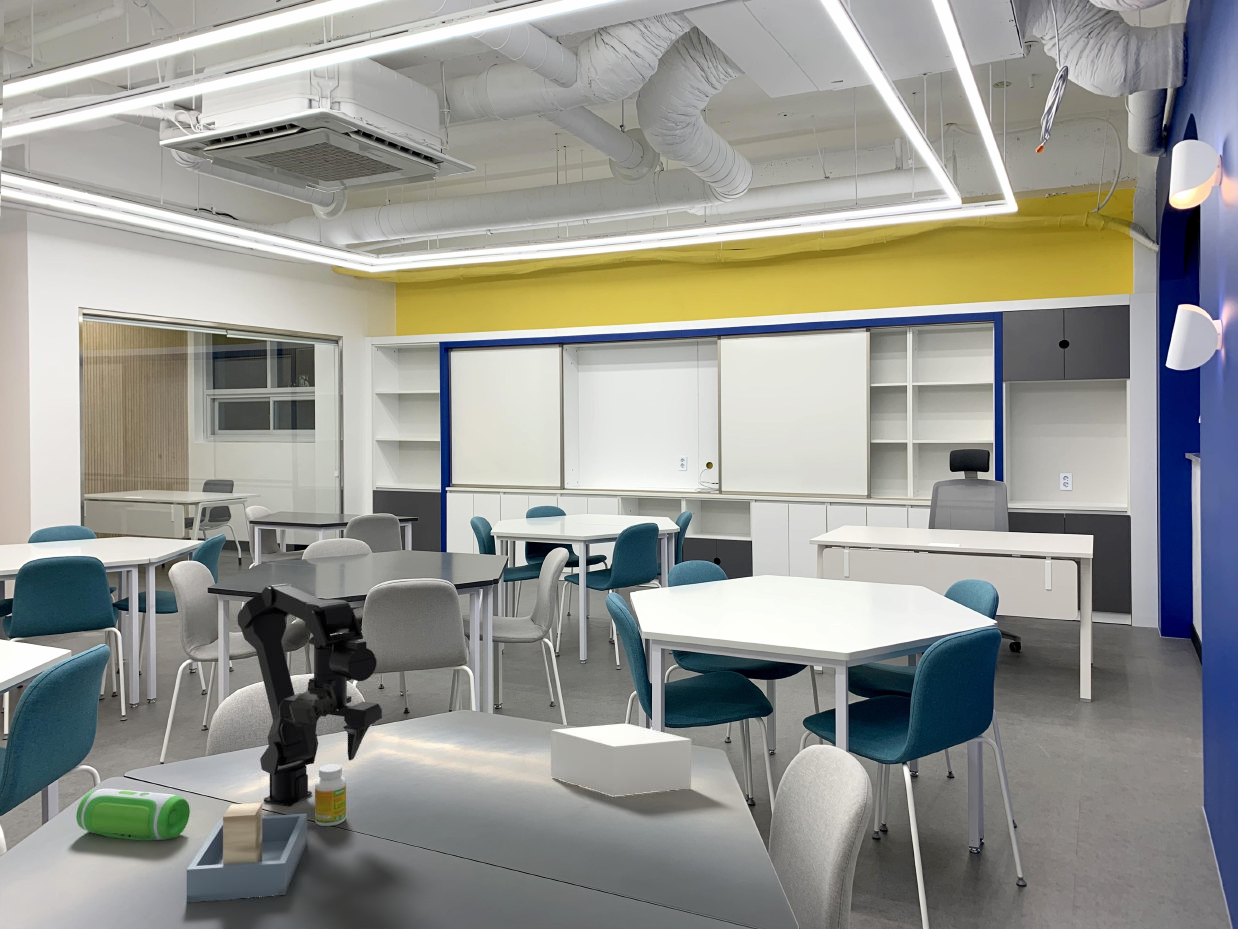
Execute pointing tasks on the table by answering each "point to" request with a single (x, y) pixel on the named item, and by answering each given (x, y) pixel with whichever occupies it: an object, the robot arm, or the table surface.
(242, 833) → the tall ash block
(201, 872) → the tote
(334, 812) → the supplement bottle
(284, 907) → the table surface
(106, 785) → the table surface
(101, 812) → the speaker
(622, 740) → the white rectangular block
